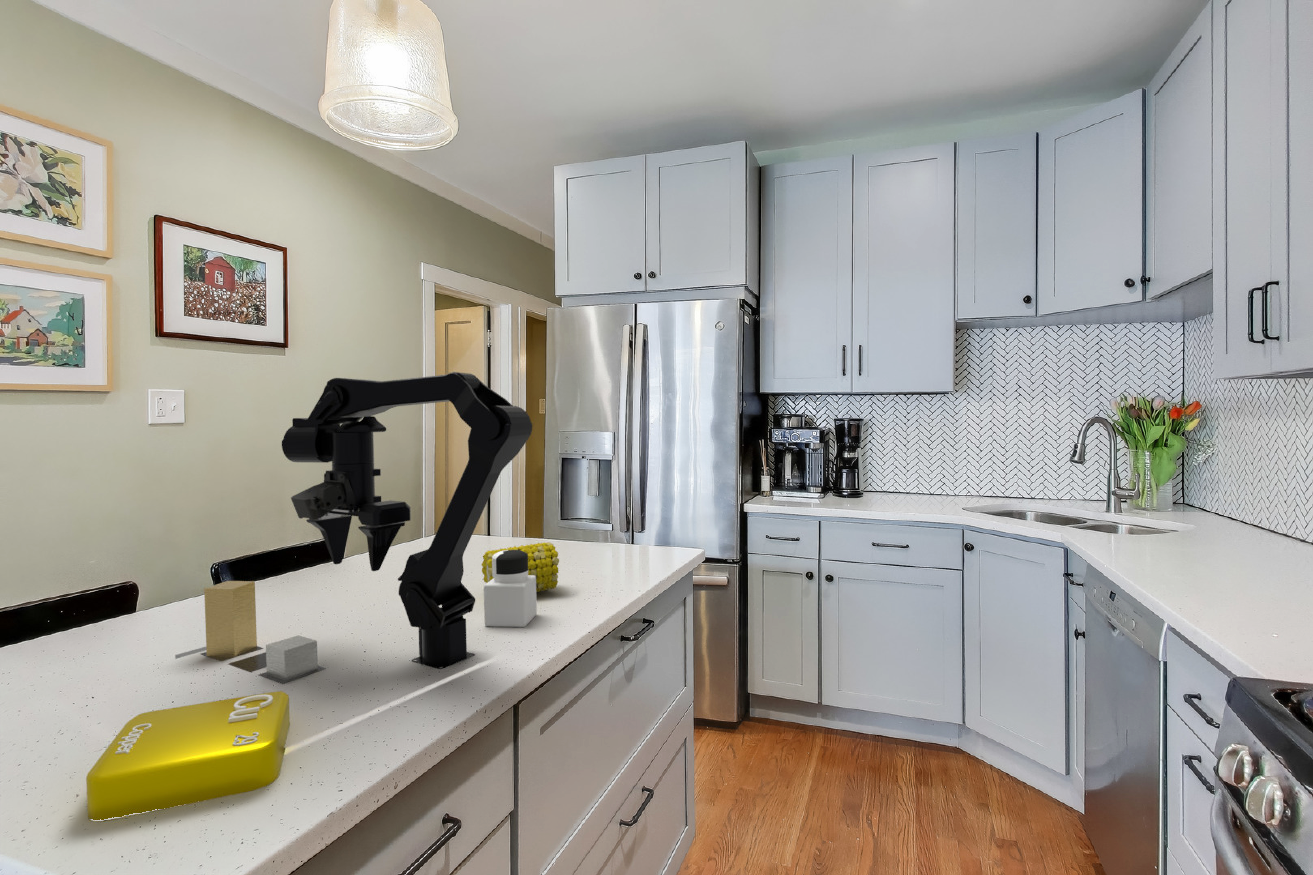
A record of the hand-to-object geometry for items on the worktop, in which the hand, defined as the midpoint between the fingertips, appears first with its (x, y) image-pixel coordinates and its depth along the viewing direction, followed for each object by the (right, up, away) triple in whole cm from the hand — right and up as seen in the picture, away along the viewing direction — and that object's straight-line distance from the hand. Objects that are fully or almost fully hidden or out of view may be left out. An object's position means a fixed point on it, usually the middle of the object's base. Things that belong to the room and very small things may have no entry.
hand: (356, 567), depth 99 cm
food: (+18, -12, +32) cm, 38 cm away
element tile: (-2, -15, -31) cm, 35 cm away
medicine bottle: (+20, -13, +15) cm, 28 cm away
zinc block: (-5, -13, -8) cm, 16 cm away
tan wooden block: (-19, -13, 0) cm, 23 cm away
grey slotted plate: (-13, -13, -3) cm, 19 cm away
